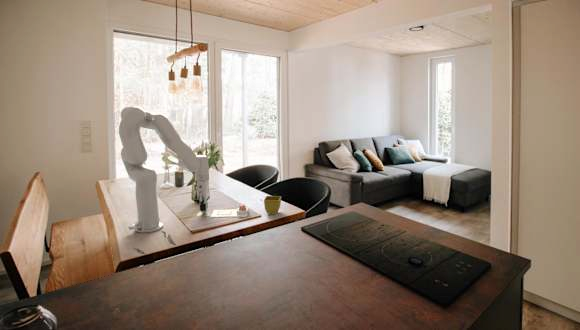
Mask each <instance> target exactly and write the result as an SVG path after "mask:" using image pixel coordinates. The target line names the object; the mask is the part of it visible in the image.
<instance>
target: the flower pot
mask: <svg viewBox="0 0 580 330" xmlns="http://www.w3.org/2000/svg"><path fill="white" fill-rule="evenodd" d="M281 201H282V196H278V195H266V196H265V198H264V199H263V203H264V204H263V205H264V209H265V212H266V214H267V215H275V214H276V215H278V212H279V210H280V209H281V204H282V203H281Z"/></svg>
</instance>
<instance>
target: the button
mask: <svg viewBox="0 0 580 330" xmlns="http://www.w3.org/2000/svg"><path fill="white" fill-rule="evenodd" d="M238 208H239V210H246V209H245V208H246V204H239V207H238Z"/></svg>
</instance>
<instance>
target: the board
mask: <svg viewBox="0 0 580 330" xmlns="http://www.w3.org/2000/svg"><path fill="white" fill-rule="evenodd" d="M245 209H246V210H239V207H237V208H236V209H234V208H233V209H213V212H211V214H210V216H209V218H238V217H243V218H248V216H247V215H249V207H247V206H246V207H245Z"/></svg>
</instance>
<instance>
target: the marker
mask: <svg viewBox="0 0 580 330" xmlns="http://www.w3.org/2000/svg"><path fill="white" fill-rule="evenodd" d="M202 198H204V197H202ZM203 201H204V200H203ZM205 204H206V211H200V212H201V213H202V214H203V215H204V214H206V212H208V208H207V205H208V198H207V199H205Z"/></svg>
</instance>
